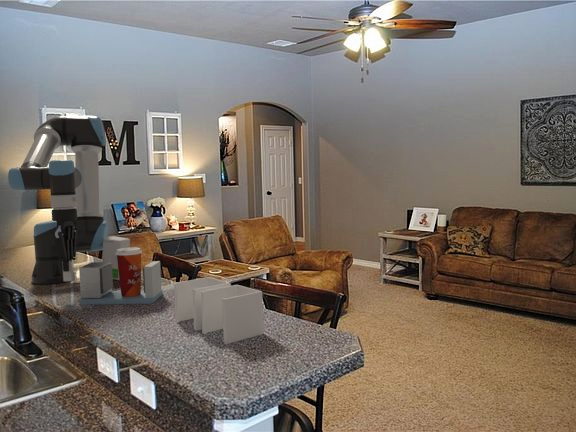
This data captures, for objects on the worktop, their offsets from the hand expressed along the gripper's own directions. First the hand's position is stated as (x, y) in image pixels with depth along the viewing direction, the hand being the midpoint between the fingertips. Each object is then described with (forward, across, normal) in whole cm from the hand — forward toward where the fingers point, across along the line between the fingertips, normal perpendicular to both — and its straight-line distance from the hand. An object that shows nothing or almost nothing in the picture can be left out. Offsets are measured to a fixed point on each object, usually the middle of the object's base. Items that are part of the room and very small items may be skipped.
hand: (68, 280), depth 169 cm
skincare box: (+6, +34, -3) cm, 35 cm away
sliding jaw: (+5, 0, -9) cm, 10 cm away
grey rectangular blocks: (+7, -31, -54) cm, 63 cm away
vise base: (+6, 0, -17) cm, 19 cm away
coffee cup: (+5, 0, -20) cm, 21 cm away
